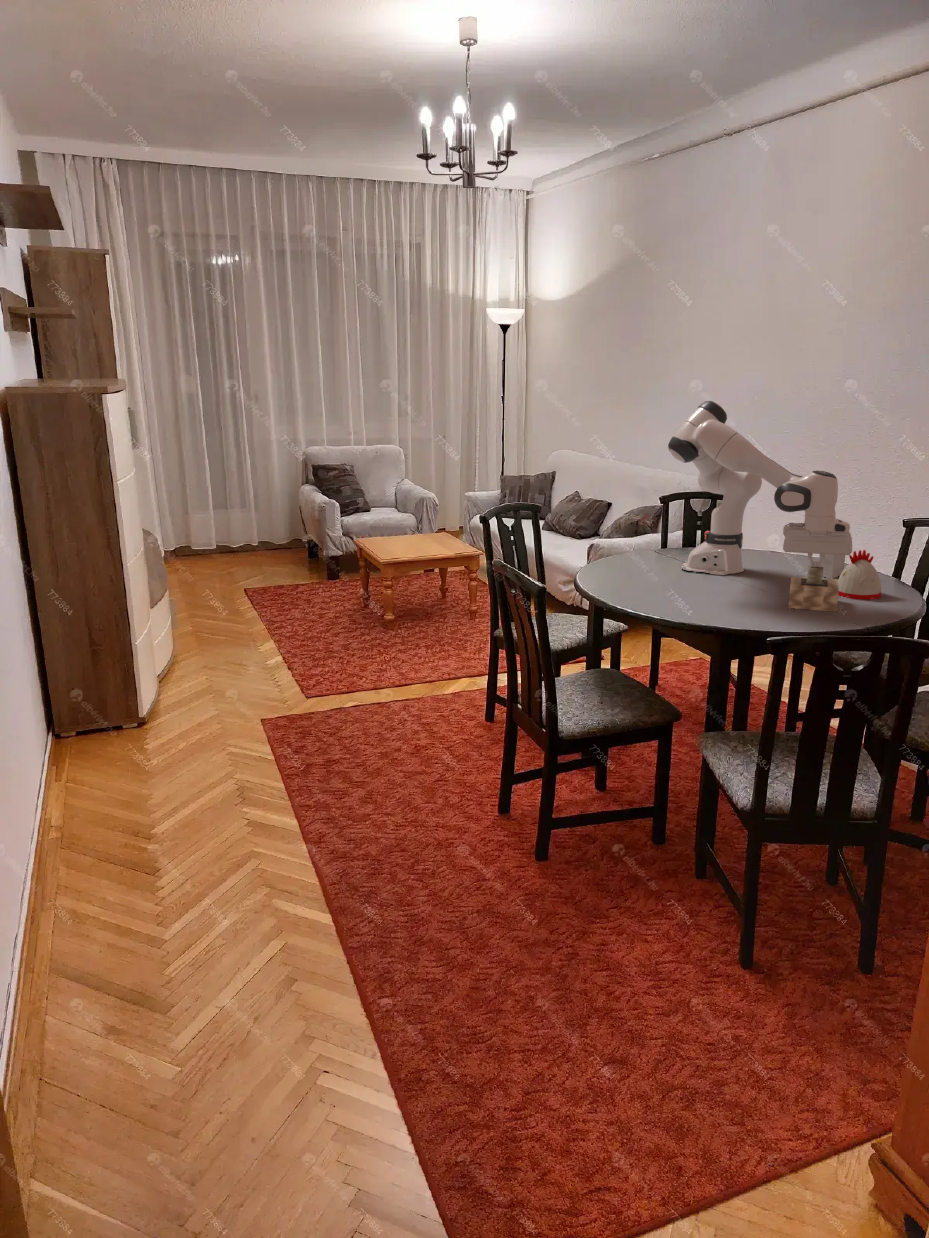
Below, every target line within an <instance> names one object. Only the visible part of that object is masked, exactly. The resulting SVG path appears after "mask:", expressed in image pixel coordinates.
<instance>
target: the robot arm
mask: <svg viewBox="0 0 929 1238" xmlns="http://www.w3.org/2000/svg"><path fill="white" fill-rule="evenodd" d="M727 420H728V415H727V412H726V411H725V410H724V407H722V406H721V405H720V404H719V403H717V402H714V401H712V400H705V401H704V402H702V403H700V405H698V406H697V408H696V410H694V411H693V412H692V413H691V414H690V415H689V416H688V417H687V418H686V419H685V420H684V422H683V424H682V425H681V426H680V427H679V429H678V430H677V431H676V433H675V434H674V436H672V437H671V438H670V440H669V442H668V444H667V448H668V450H669V452H670V453H671V456H672V457H673V458H674V459H676V460H677V461H679V462H682V463H685V464H687V463H693V465H694V466H695V467H696V468H697V470H698V471H699V472H698V476H697V482H698V486H699V487H700V488H701V489H702V490H704V491H706V492H709V493H712V494H716V495H723V498H722V501H721V503H720V505H718V506H717V507H715V508H714V509H713V510H712V511H711V519H710V530H706V531H705V532H704V541H703V542H702V543H701V544H699V545H698V546H696V547H695V548H693V549H692V550H691V551H690V552H689V555H688V558H687V561H686V562H684V563H682V565H684V566H682V565H681V567H682V568H683V567H684V568H686V569H687V570H691V571H696V572H706V573H710V574H709V575H717V576H726V575H732V574H738V573H742V572H744V565H743V558H742V548H743V540H744V537H743V536H744V534H743V531H742V530H743V522H744V513H745V509H746V507H747V505H748V503H749V501H750V500H751V499H752V498H753V497H754V496H756V495H757V494H758V492H759V491H760V490H761V488H762V483H763V480H764V481H766V482H767V483H769V484H771V485H772V486H773V487H774V488H776V490H775V491H774V495H773V496H774V497H773V498H774V499H773V501H774V503H775V505H776V507H777V508H778V509H779V510H781V511H783V512H787V513H795V512H800V511H804V522H803V523H802V522H797V523H795V522H788V523H787V524H785V525H784V526H783V529H782V534H783V536H784V539H783V544H782V550H783V552H785V553H796V554H798V553H799V554H807V558H808V560H809V562H810V565H809V566H810V567H815V568H820V567H821V562H822V561H823V560H824V558H825V554H832V555H845V556H849V555H851V554H852V553H853V538H852V533H851V532H850V529H851V524H850V523H849V522H847V521H844V520H842V519H840V518H839V519H838V518H837V517H836V516H837V515H836V505H837V502H838V495H839V485H838V478H837V476H836V475H835V474H833V473H831V472H830V471H829V472H828V471H824V470H812V471H811V472H810V473H807V474H806V475H798V474H795V473H793V472H790V471H789V470H787V469H786V468H785V467H783V466H782V465H780V464H779V463H777V462H776V461H774V460H773V459H771V458H769V457H768V456H767V455H765V454H764V453H763V452H762V451H761V450H759V448H757V446H756V447H755V445H754V444H752V442H750V441H749V440H748V439H747V438H746V437H744V436H743V435H742V434H741V433H740V432H738V431H737V430H735V429H734V428H732V427H731V426H728V425H727V424H726V422H727ZM813 554H816V555H817V554H818V555H820V554H821V555H820V557H821V559H820V560H819V559H818V560H813V559H812V557H813ZM696 572H695V573H696Z"/></svg>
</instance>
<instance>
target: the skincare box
mask: <svg viewBox="0 0 929 1238" xmlns="http://www.w3.org/2000/svg"><path fill="white" fill-rule="evenodd" d="M818 555H819V557H818V561H819V560H820V559H821V557H820V555H821V554H818ZM845 562H846V555H832V554H825V558H824V560H823V561H822V562H821V567H823V577H822V578H824V577H826V578H825V579H829V578H833V579H837V578H839V577H840V575H841V573H842V571H843V570H844V569H845ZM838 576H839V577H838Z"/></svg>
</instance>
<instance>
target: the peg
mask: <svg viewBox="0 0 929 1238" xmlns="http://www.w3.org/2000/svg"><path fill="white" fill-rule="evenodd" d="M806 577H807V584H822V578H824V577H823V567H820V568H815V567H810V565H808V566H807V575H806Z"/></svg>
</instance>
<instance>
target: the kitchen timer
mask: <svg viewBox="0 0 929 1238" xmlns="http://www.w3.org/2000/svg"><path fill="white" fill-rule="evenodd" d="M852 553H853V554H852V555H851V554H850V555H848V557H849V560H850V562H849V564H847V565H846V566H845V567H844V570H843V571H842V573H841V575H840V576H839V577H838V588H839V592H838V597H841V596H843V597H842V598H844V597H846V599H849V598H850V599H851V600H858V599H862V600H863V601H864V600H865V599H866V600H865V601H870V599H871V600H877V599H880V598H881V596H882V583H881V579H880V575H879V573H878V571H877V569H876V568H875V566H874V565H873V564H872V561H873V559H874V556H873V555H871V556H870V554H871V553H870V552H867V550H866V549H863V551H862V550H860V549H859V550H858V553H857V551H856V550H854V551H853V552H852ZM850 599H849V600H850Z"/></svg>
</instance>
